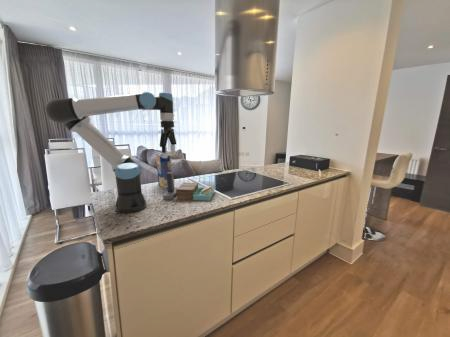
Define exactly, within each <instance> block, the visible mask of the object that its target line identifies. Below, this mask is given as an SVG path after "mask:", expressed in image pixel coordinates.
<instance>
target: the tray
mask: <svg viewBox="0 0 450 337" xmlns="http://www.w3.org/2000/svg"><path fill="white" fill-rule="evenodd" d="M204 188H205V187H198V189H197V191H196V192H195V193H194V195H193V201H211V200H212V198H213V196H214V193H215V188H214V187H212V189H213V190H212V192H211V193H209V194H207V195H202V194H201V191H202V190H203V189H204Z"/></svg>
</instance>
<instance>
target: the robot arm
mask: <svg viewBox="0 0 450 337" xmlns="http://www.w3.org/2000/svg"><path fill="white" fill-rule="evenodd" d="M44 110H45V111H44V112H45V114H46V116H47V118H49V120H51V122H54V123H57V124H60V125H63V126H64V127H65V128H66V129H67V130H69V131H70V132H71V133H76V134H77V135H78V136H79V137H80V138H82V140H84V141H85V142H86V144H88V145H89V146H91V148H92V149H93V150H94V151H95V152H97V154H98V155H100V156H101V157H102V158H103V159H104V160H105V161H106V162H107V163H109V165H110V166H111V171H112V172H114V175H115V183H116V191H117V198H116V201H115V208H114V209H115V211H116V212H117V213H121V214H128V213H129V214H130V213H131V214H132V213H136V212H139V211H142V210H144V209H145V208H146V207H147V201H146V199H145V196H144V194H143V192H142V190H143V189H142V181H141V177H142V171H143V170H142V167H141V165H140V164H139V163H138V162H136V161H135V160H133V159H132V158H131V157H130V156H129V155H124V154H123V152H121V150H119V149H118V148H117V147H116V146H115V144H114V143H112V142H111V141H110V140H109V139H108V138H107V137H106V136H105V135H104V134H103V133H102V132H101V131H100V130H99V129H98V128H97V127H96V126H95V125H94V123H92V122H91V117H90V116H98V115H106V114H107V115H108V114H114V113H120V112H122V113H123V112H130V111H138V110H142V111H153V110H154V111H159V112H160V113H159V115H160V120H161V121H160V127H161V128H163V129H160V132H161V134H160V138H159V139H160V140H159V148H161V155H162V158H167V155H168V148H167V144H168V140H169V143H170V156H175V155H176V145H177V140H176V136H175V129H174V127H175V121H174V120H175V119H174V117H175V114H174V99H173V94H172V93H170V92H159V93H158V96H157V95H156V96H155V95H154V94H153V93H152V92H151V91H143V92H142V93H141V92H140V93H132V94H121V95H112V96H111V95H110V96H102V97H93V98H81V99H78V98H76V97H70V98H69V97H68V98H67V97H66V98H65V97H64V98H53V99H51V100H49V101H48V102H47V103H46V104H45V109H44Z"/></svg>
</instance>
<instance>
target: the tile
mask: <svg viewBox="0 0 450 337" xmlns="http://www.w3.org/2000/svg"><path fill="white" fill-rule="evenodd" d="M203 188H204V189H203V190H202V191H201V194H202V195H207V194H209V193H211V192H212V190H213V189H212V188H213V187H212V186H211V185H209V186H207V187H203Z"/></svg>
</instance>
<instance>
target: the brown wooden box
mask: <svg viewBox="0 0 450 337" xmlns="http://www.w3.org/2000/svg"><path fill="white" fill-rule="evenodd" d="M176 188H177V189H176V200H193V195H194V193H195V192H196V191H197V189H198V188H199V183H198V182H183V183H182V184H180V186H178V187H176ZM193 201H194V200H193Z"/></svg>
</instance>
